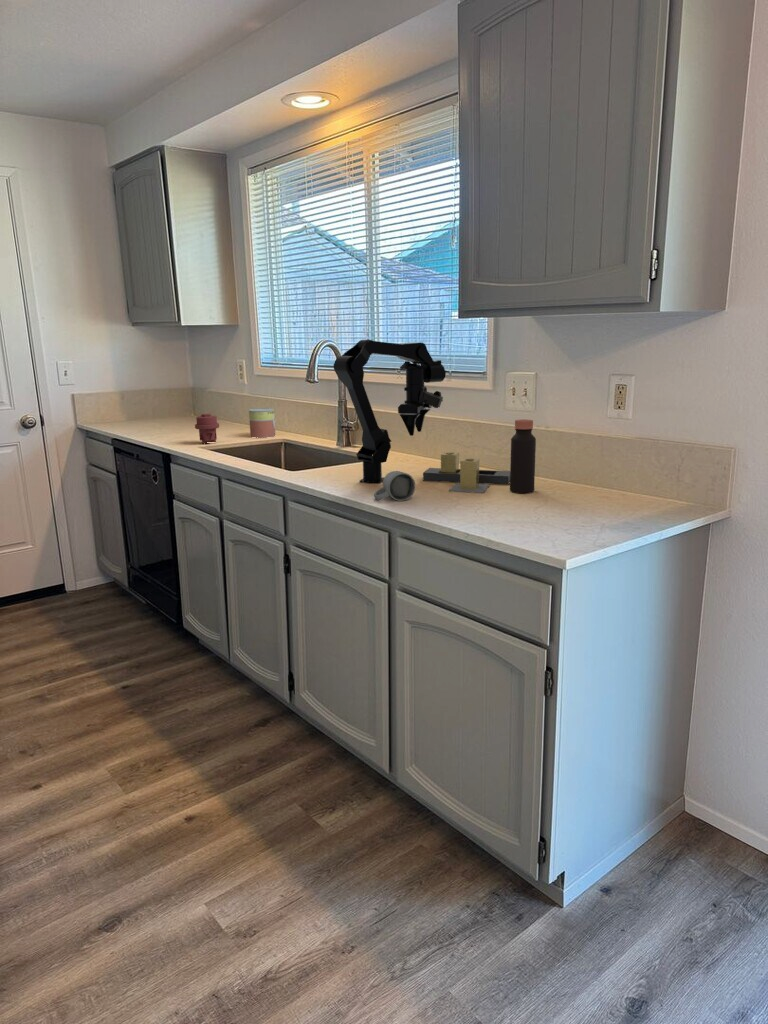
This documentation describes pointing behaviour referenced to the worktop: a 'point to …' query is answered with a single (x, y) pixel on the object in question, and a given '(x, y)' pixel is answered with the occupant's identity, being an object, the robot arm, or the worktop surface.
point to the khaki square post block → (450, 462)
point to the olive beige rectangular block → (469, 473)
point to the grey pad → (480, 489)
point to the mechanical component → (207, 427)
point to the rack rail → (436, 475)
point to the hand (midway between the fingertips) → (415, 433)
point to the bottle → (522, 457)
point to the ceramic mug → (396, 486)
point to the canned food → (262, 422)
